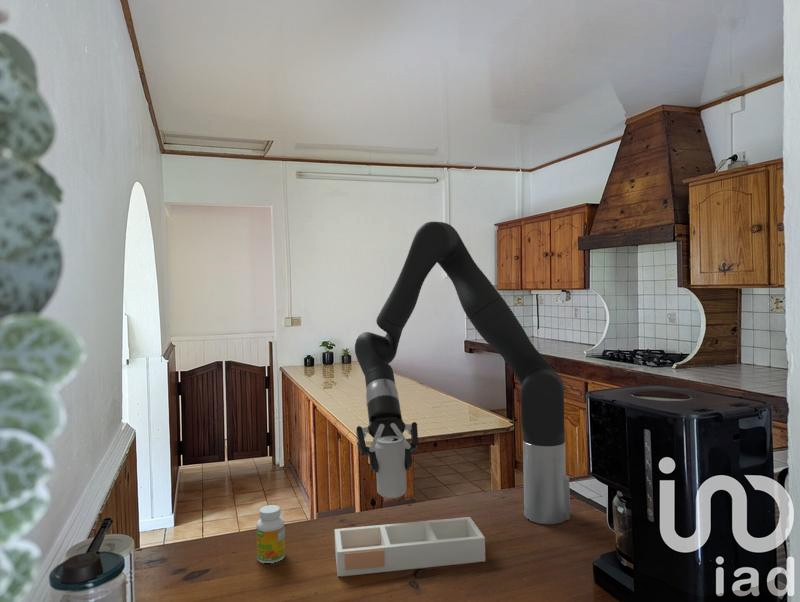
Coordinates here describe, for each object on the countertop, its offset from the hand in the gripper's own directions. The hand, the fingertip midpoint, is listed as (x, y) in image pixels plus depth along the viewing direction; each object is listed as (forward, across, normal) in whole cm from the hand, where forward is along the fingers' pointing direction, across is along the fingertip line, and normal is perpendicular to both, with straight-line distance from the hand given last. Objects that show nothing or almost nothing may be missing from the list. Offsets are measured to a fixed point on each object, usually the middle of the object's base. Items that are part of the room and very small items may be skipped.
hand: (392, 469), depth 119 cm
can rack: (+17, +1, +2) cm, 17 cm away
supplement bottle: (+14, -25, +6) cm, 29 cm away
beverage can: (+3, 0, +6) cm, 6 cm away
